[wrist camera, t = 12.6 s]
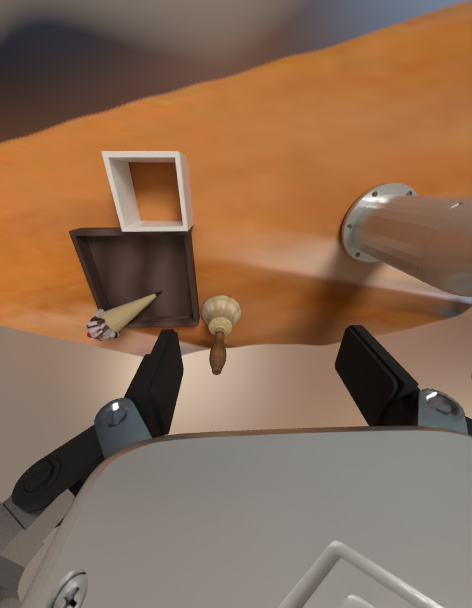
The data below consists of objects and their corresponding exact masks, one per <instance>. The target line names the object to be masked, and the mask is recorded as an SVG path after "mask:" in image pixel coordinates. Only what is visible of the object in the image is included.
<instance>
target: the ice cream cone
mask: <svg viewBox="0 0 472 608" xmlns="http://www.w3.org/2000/svg"><path fill="white" fill-rule="evenodd" d="M161 292H162V291H160V292H157V293H155V294H152V295H149V296H146V297H144V298H141V299H138V300H135V301H133V302H130V303H127V304H124V305H121V306H119V307H116V308H113V309H110V310H108V311H104V310H103V309H99V310H97V311H96V312H95V315H94V317H93V318H92V319H91V320H90V321H89V323H88V325H86V326H87V329H88V333H87V336H88V337H90V338H91V337H93V338H95V339H97V340H99V341H102V340H106V339H109V338H117V337H118V336H120V330H121V329H122V328H124V327H125V326H126V325H127V324H128V323H129V322H130V321H131V320H132V319H133V318H134V317H135V316H136V315H138V314H139V313H140V312H141V311H142V310H143V309H144V308H145V307H146V306H147V305H148V304H149V303H150V302H152V301H153V300H154V299H155V298H156V297H157V296H158V295H159V294H160V293H161Z"/></svg>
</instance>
